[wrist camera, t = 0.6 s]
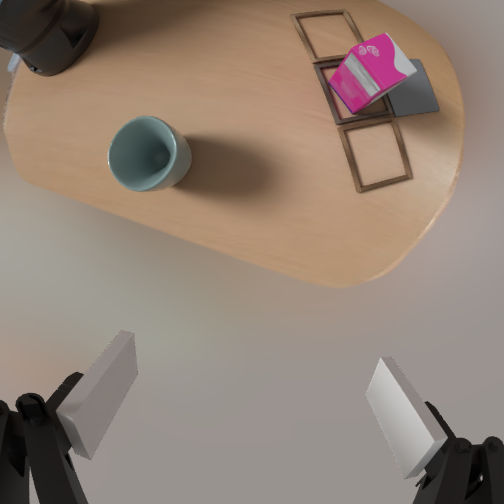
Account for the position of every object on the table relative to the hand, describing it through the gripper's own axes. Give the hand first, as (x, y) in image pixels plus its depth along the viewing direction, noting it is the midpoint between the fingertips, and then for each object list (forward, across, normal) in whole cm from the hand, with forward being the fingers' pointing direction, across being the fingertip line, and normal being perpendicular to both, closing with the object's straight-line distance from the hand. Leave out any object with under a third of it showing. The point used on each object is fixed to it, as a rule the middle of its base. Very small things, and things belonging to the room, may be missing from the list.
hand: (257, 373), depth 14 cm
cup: (+25, -13, +12) cm, 30 cm away
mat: (+25, +19, +29) cm, 43 cm away
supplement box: (+25, +11, +25) cm, 37 cm away
